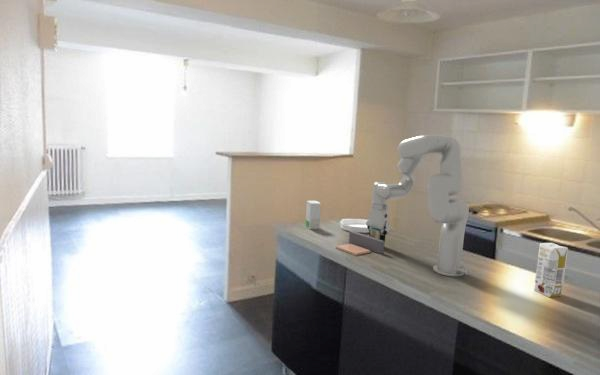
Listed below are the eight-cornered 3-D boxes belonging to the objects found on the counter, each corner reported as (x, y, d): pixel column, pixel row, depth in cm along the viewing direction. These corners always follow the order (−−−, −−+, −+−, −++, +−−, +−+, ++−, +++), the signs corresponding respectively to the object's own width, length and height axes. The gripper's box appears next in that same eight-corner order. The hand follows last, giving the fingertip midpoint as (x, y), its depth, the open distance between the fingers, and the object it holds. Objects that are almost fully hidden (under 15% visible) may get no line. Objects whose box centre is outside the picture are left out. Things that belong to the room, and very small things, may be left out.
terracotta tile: (370, 252, 206) (370, 250, 206) (355, 255, 200) (355, 253, 200) (350, 245, 217) (350, 243, 217) (335, 248, 211) (335, 246, 211)
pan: (360, 222, 273) (360, 216, 272) (390, 232, 250) (391, 225, 250) (329, 225, 259) (329, 219, 259) (358, 236, 237) (359, 229, 237)
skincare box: (305, 226, 255) (306, 200, 253) (315, 225, 257) (316, 200, 255) (309, 229, 247) (310, 203, 245) (320, 229, 249) (321, 202, 247)
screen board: (383, 253, 206) (384, 241, 205) (380, 253, 205) (381, 241, 204) (351, 242, 223) (352, 231, 223) (348, 242, 222) (349, 231, 221)
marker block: (383, 246, 219) (384, 229, 217) (376, 247, 216) (378, 230, 214) (376, 243, 223) (377, 227, 221) (369, 245, 220) (370, 228, 218)
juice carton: (548, 298, 158) (555, 248, 155) (530, 289, 166) (536, 242, 163) (564, 297, 160) (571, 248, 157) (545, 288, 168) (552, 241, 165)
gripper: (397, 208, 212) (394, 243, 214) (371, 203, 225) (369, 236, 228) (387, 210, 207) (384, 245, 210) (361, 204, 221) (359, 237, 223)
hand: (376, 240), depth 219 cm, fingers open, 6 cm apart
